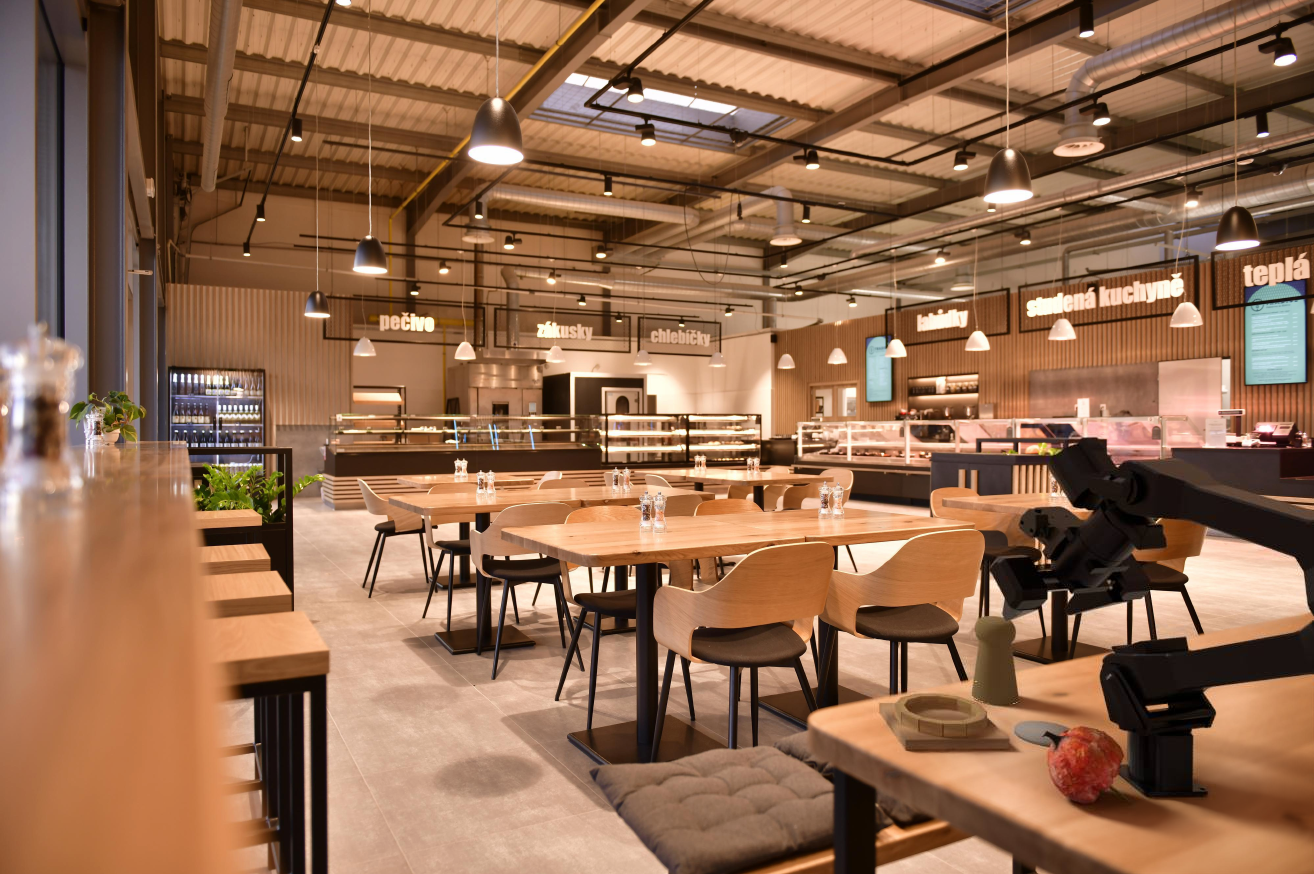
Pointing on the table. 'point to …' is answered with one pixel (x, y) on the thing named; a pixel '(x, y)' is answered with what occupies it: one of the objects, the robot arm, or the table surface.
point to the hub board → (942, 742)
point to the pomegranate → (1083, 763)
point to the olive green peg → (995, 662)
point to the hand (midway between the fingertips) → (1036, 614)
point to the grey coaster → (1038, 731)
